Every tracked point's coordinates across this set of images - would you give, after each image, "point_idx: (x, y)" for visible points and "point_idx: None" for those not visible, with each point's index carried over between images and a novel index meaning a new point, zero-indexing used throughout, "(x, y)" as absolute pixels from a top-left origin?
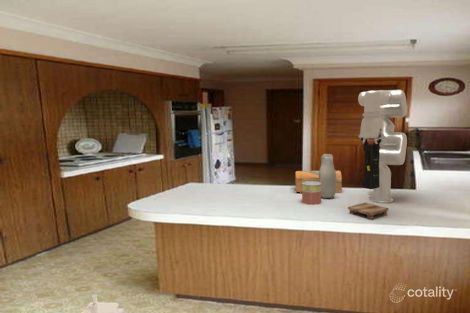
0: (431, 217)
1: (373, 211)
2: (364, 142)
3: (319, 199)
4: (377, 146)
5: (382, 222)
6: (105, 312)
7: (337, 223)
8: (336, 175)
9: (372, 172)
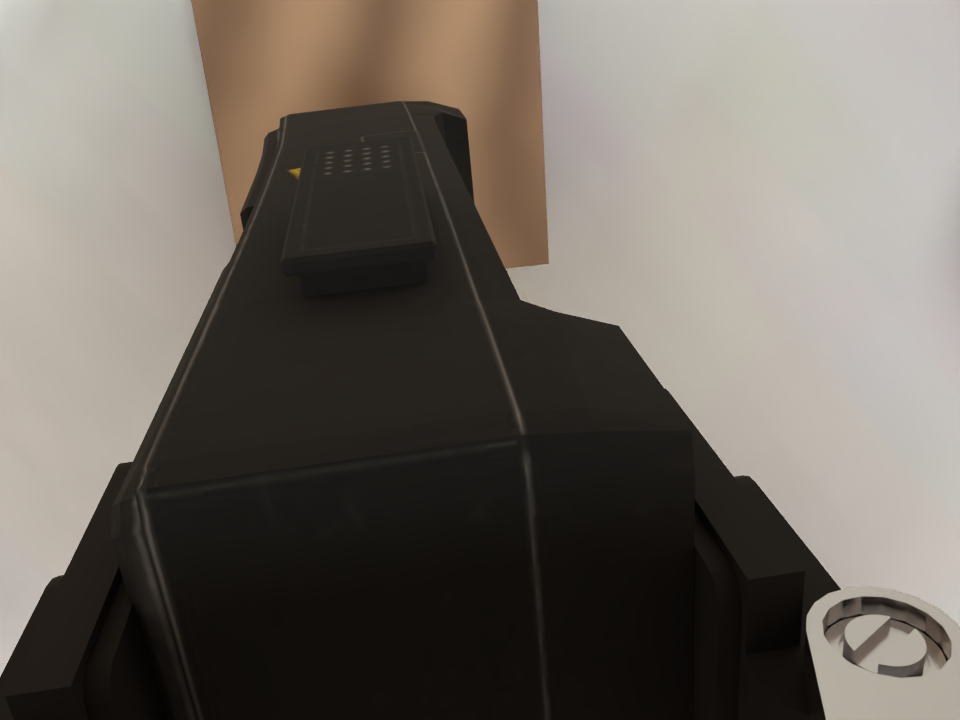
0: (8, 533)
1: (231, 49)
2: (806, 633)
3: None
4: (5, 691)
5: (86, 12)
6: None
7: None
8: None
9: (249, 190)
